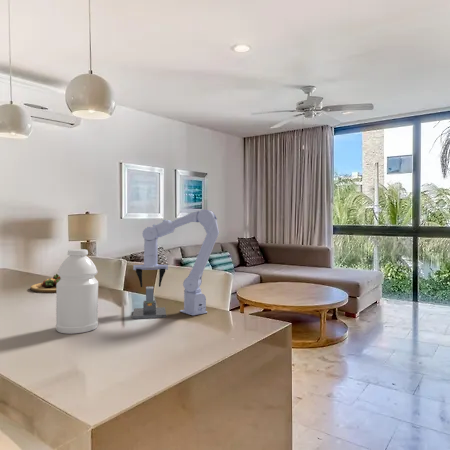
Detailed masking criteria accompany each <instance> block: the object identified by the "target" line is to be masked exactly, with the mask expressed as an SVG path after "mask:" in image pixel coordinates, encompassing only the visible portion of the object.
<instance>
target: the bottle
mask: <svg viewBox="0 0 450 450" xmlns="http://www.w3.org/2000/svg"><path fill="white" fill-rule="evenodd" d="M67 255H68V257H67V258H65V259H64V261H63V262H62V263H61V265H60V266H59V269H58V271H57V273H56V274H58V275H59V276H60V278H61V279H60V280H59V282H57V284H56V293H55V294H56V295H55V296H56V297H55V298H56V299H55V300H56V304H55V305H56V307H55V308H56V309H55V310H56V313H55V315H56V317H55V318H56V321H55V322H56V323H55V330H56V331H57V332H58V333H61V334H70V335H73V334H82V333H88V332H91V331H93V330H95V329H97V328H98V327H99V319H98V318H99V316H98V315H99V310H98V309H99V280H97V278H96V277H95V276H96V275H97V274H98V269H97V266H96V265H95V263H94V262H93V260H92V259H91V258H90V257H88V255H89V251H88V249H84V248H83V249H82V248H81V249H80V248H76V249H75V248H73V249H68V250H67Z"/></svg>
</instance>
